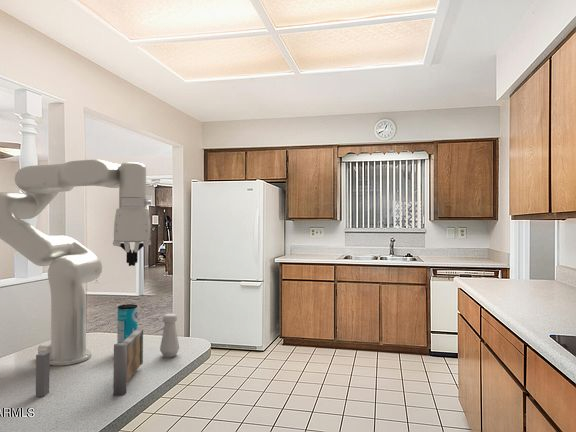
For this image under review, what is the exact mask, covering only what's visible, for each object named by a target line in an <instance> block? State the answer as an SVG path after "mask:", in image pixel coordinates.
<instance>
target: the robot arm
mask: <svg viewBox="0 0 576 432" xmlns="http://www.w3.org/2000/svg"><path fill="white" fill-rule="evenodd" d="M14 182H15V185H16V187H17V188H18V189H20V190H21V191H23V192H24V193H23V192H22V193H21V192H11V191H7V192H6V191H2V192H1V191H0V240H2V241H3V242H4V243H6V244H8V245H9V246H10V247H11V248H12V249H14V250H15V251H16V252H17V253H18V254H20V255H21V256H22V257H24V258H25V259H26V260H28V261H30V263H32V264H34V265H35V266H37V267H38V266H39V267H47V266H48V270H47V279H48V284H49V290H50V343H49V345H46V344H44V345H43V344H40V345H38V348H37V354H39V353H41V352H50V365H51V366H68V365H70V366H71V365H76V364H78V363H81V362H85V361H87V360H89V359H90V358H91V357H92V351H91V350H89V349H86V348H87V297H86V293H85V289H84V288H83V284H87V283H90V282H94V281H95V280H97V279H98V278H99V277H100V276H101V274H102V271H103V265H102V261H101V259H100V257H98V256H97V255H96V254H95V253H94V252H93V251H91V250H90V249H89V248H87V247H85V246H84V245H83V244H82V243H80V242H79V241H78V240H76V239H74V237H71V236H69V235H65V234H47V233H44V232H42V231H40V230H39V229H38V228H37V227H35V226H34V225H33V224H32V223H29V222H27V221H24V220H30V219H33V218H36V217H37V216H39V215H40V214H41V213H42V212H43V211H44V210H45V209H46V207H47V206H48V205H49V204H50V203H51V202H52V201H53V199H54V198H56V196H57V195H58V194H59V193H61V192H69V191H72V190H73V189H74V188H75V187H91V186H93V187H94V186H95V187H104V188H110V189H118V194H119V195H118V208H116V210H115V211H116V212H115V216H114V222H113V223H114V224H113V241H112V246H114V247H118V248H119V247H120V248H121V249H122V250H124V251H125V253H126V263H127V264H128V267H131V266H132V267H135V266H136V264H138V262H139V261H138V259H139V258H138V255H139V254H138V252H139V251H140V250H141V249H142V248H144V247H148V246H151V245H152V242H151V241H152V240H151V217H150V212H149V211H150V210H149V209H148V208H147V206H151V205H152V201H151V200H148V199H147V166H146V165H145V164H144V163H140V162H122V163H121V164H119V163H113V162H109V161H107V160H101V159H82V160H71V161H67V162H63V163H53V164H37V165H29V166H28V165H27V166H23V167H22V168H19V169H18V170H17V171H16V173H15V174H14ZM130 243H134V247H133V250H132V249H131V244H130Z"/></svg>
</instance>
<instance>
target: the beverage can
mask: <svg viewBox="0 0 576 432" xmlns="http://www.w3.org/2000/svg"><path fill="white" fill-rule="evenodd" d="M116 327H117V331H116V332H117V333H116V334H117V336H116V337H117V343H122V342H123V341H124V340H125V339H126V338H127V337H129V336H130V335H131V334H132V333H133V332H134V331H135V330H138V305H137V304H133V303H129V304H128V303H127V304H121V305H119V306H117V326H116ZM117 343H116V344H117Z"/></svg>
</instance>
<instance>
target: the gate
mask: <svg viewBox="0 0 576 432" xmlns="http://www.w3.org/2000/svg"><path fill="white" fill-rule="evenodd" d="M122 343H127V382H129V380H130V379H131V378H132V377H133V375H134V374H135V373H136V372H137V370H138V369H139V367H141V366H142V365H143V363H144V361H143V359H144V329H143V328H142V329H137V330H135V331H134V332H133V333H132V334H131V335H130V336H129V337H127V338H126V339H125V340H124V341H123V342H122Z"/></svg>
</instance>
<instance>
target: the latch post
mask: <svg viewBox="0 0 576 432" xmlns="http://www.w3.org/2000/svg"><path fill="white" fill-rule="evenodd" d="M48 394H50V352H41V353H37V354H36V355H35V397H37V398H38V397H41V398H42V397H45V396H47V395H48Z"/></svg>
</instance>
